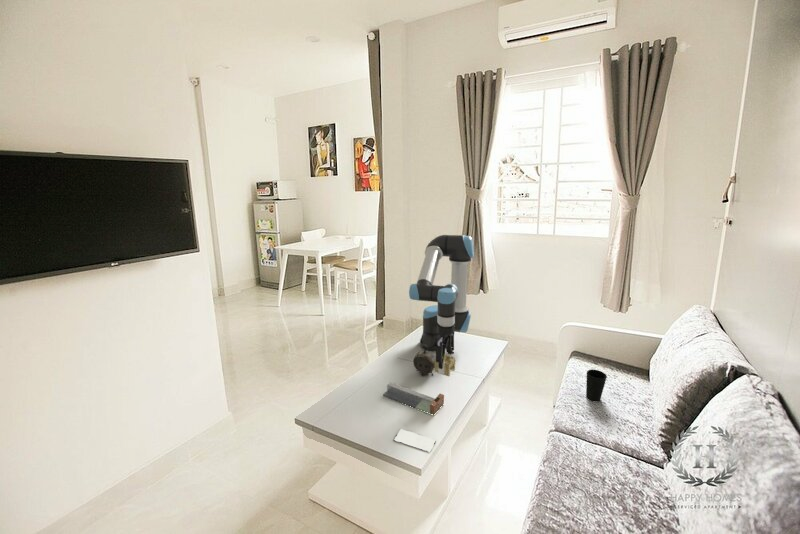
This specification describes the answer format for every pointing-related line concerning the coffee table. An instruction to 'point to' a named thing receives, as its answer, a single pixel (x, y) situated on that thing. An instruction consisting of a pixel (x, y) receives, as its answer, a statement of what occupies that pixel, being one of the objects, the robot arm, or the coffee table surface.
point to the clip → (447, 365)
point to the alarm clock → (424, 362)
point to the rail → (414, 398)
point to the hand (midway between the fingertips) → (444, 370)
